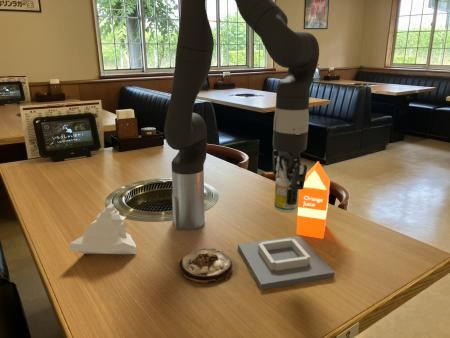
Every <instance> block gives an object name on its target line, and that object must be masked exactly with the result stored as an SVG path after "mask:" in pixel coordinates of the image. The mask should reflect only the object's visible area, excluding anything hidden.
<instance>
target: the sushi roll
mask: <svg viewBox="0 0 450 338" xmlns="http://www.w3.org/2000/svg"><path fill="white" fill-rule="evenodd" d="M179 265H180V266H179V267H180V270H181V273H182V276H183V277H184V278H186V280H187V281H190V282H193V283H198V284H204V283H208V284H210V283H215V284H217V282H218V281H220V280H222V279H225V280H226V281H229V276H230V275H231V273H232V270H233V263H232V260H231V259H230V256H229V255H228V254H227V253H226V252H224V251H223V250H222V251H220V250H217V248H213V247H212V248H201V249H196V250H193V251H190V252H188V253H187V254H185V255H183V257H182V258H181V260H180V262H179Z"/></svg>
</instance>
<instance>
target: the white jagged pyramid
mask: <svg viewBox="0 0 450 338" xmlns="http://www.w3.org/2000/svg"><path fill="white" fill-rule="evenodd" d="M126 218H127V216H124V215H121V214H120V210H118V209H116V206H115V204H114V203H112V202H110V203H108V205H107V206H106V207H105V208H104V210H102V211H101V212H99V214H98V215H97V216H96V219H95V220H94V221H92V222H91V223H90V224H88V226H87V227H86V228H85V229H84V233H83V235H81V236H80V237H78V238H76V239H74V240H73V241H70V242H69V246H68V247H69V248H68V251H71V252H74V253H75V252H76V253H79V254H85V255H86V254H87V255H89V254H91V255H92V254H93V255H137V250H138V248H137V245H136V243H135V241H134V240H133V238H132V235H131V234H129V233H128V232H127V228H128V227H127V226H128V225H127V224H126V223H125V224H124V222H125V219H126Z"/></svg>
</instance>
